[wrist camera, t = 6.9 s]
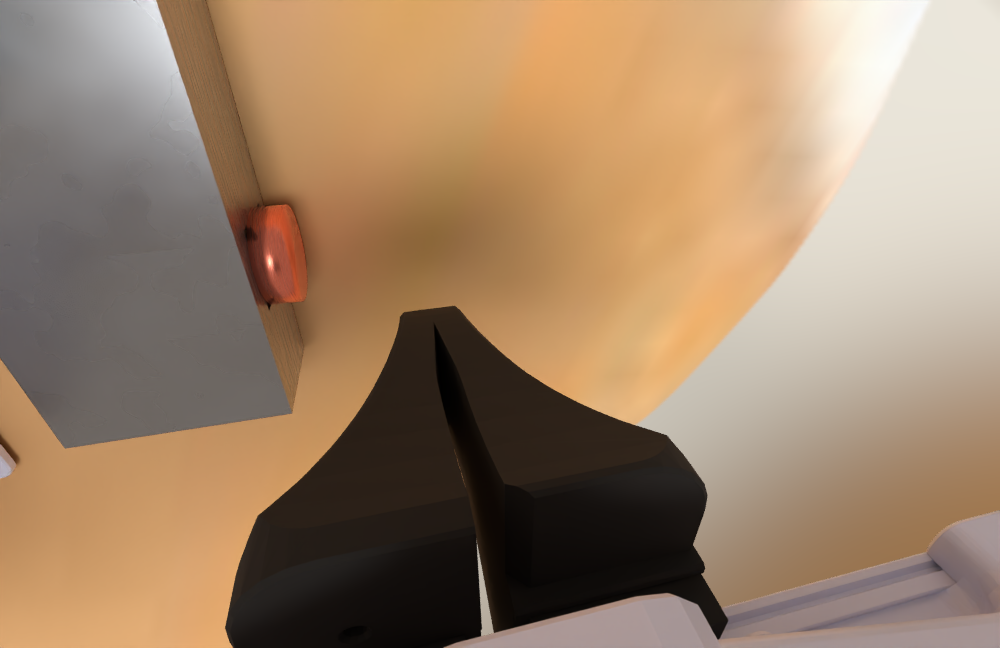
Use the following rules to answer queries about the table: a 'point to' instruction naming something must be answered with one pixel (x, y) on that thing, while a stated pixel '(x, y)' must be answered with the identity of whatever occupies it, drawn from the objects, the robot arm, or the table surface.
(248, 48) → the table surface
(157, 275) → the block
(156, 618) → the table surface
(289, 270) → the pin
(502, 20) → the table surface
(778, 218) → the table surface
